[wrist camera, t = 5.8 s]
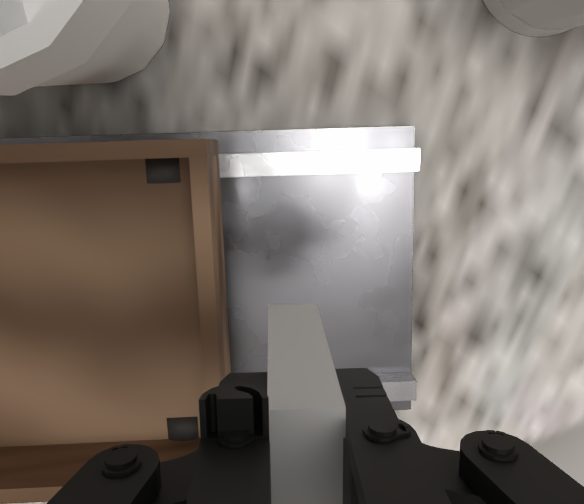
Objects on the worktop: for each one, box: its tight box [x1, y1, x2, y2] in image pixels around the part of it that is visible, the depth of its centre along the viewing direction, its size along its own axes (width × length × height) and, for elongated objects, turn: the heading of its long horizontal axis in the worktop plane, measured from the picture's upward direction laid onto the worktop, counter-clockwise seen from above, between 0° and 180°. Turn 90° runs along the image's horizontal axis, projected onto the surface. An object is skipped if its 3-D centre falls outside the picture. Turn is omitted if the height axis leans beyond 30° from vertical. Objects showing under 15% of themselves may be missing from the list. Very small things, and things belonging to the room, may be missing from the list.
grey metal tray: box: [0, 126, 420, 410], centre depth 25 cm, size 14×23×2 cm, turn 92°
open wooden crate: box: [0, 139, 231, 504], centre depth 21 cm, size 13×13×5 cm
